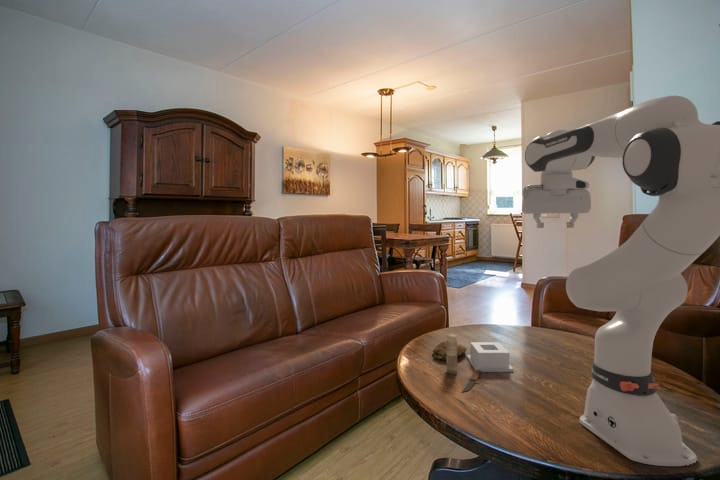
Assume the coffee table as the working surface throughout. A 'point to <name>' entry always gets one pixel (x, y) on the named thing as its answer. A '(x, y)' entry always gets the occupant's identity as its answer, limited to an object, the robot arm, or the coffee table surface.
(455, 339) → the peg
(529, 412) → the coffee table surface
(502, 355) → the socket
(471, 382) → the knife
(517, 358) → the coffee table surface
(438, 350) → the decorative rock
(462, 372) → the coffee table surface
